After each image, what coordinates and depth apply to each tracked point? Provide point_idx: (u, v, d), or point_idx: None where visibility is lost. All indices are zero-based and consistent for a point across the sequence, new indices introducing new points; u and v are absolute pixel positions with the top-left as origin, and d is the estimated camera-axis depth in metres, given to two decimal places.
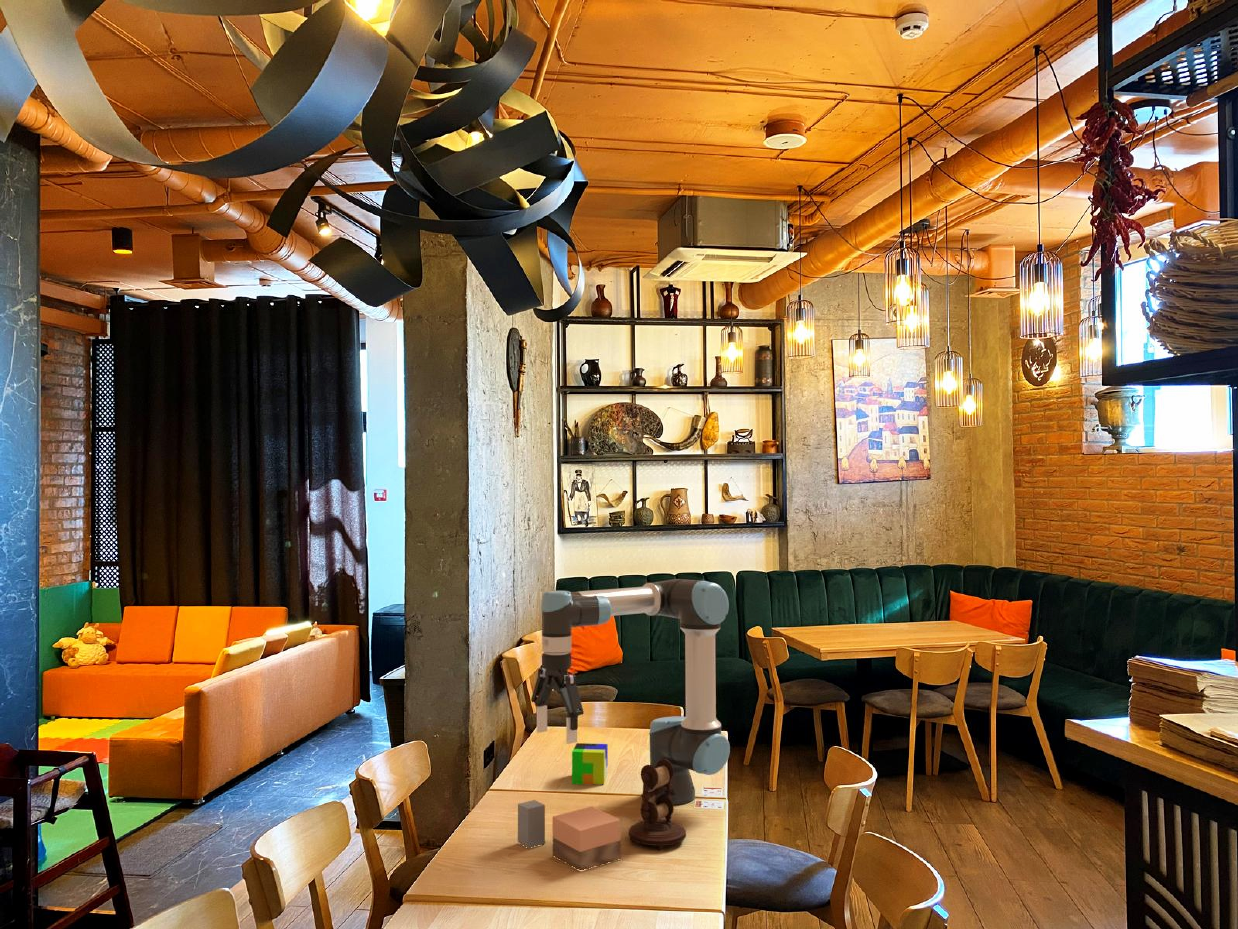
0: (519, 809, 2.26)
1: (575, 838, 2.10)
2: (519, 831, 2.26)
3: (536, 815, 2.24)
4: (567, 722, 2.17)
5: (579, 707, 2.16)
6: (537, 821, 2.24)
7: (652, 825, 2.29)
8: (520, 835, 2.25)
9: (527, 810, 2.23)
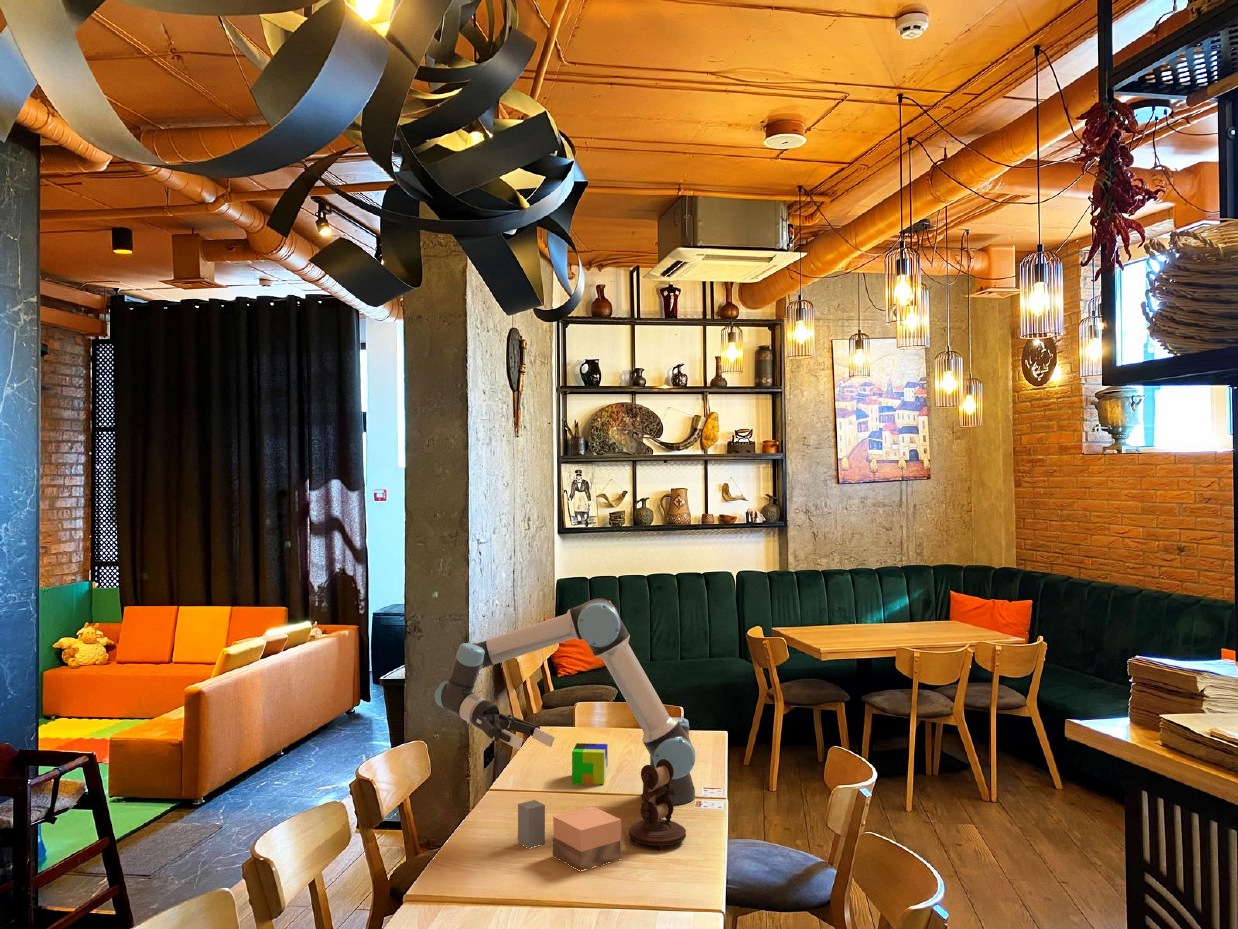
0: (519, 809, 2.26)
1: (576, 838, 2.10)
2: (519, 831, 2.26)
3: (536, 815, 2.24)
4: (504, 741, 2.29)
5: (488, 729, 2.29)
6: (537, 821, 2.24)
7: (652, 825, 2.29)
8: (520, 834, 2.25)
9: (527, 810, 2.23)
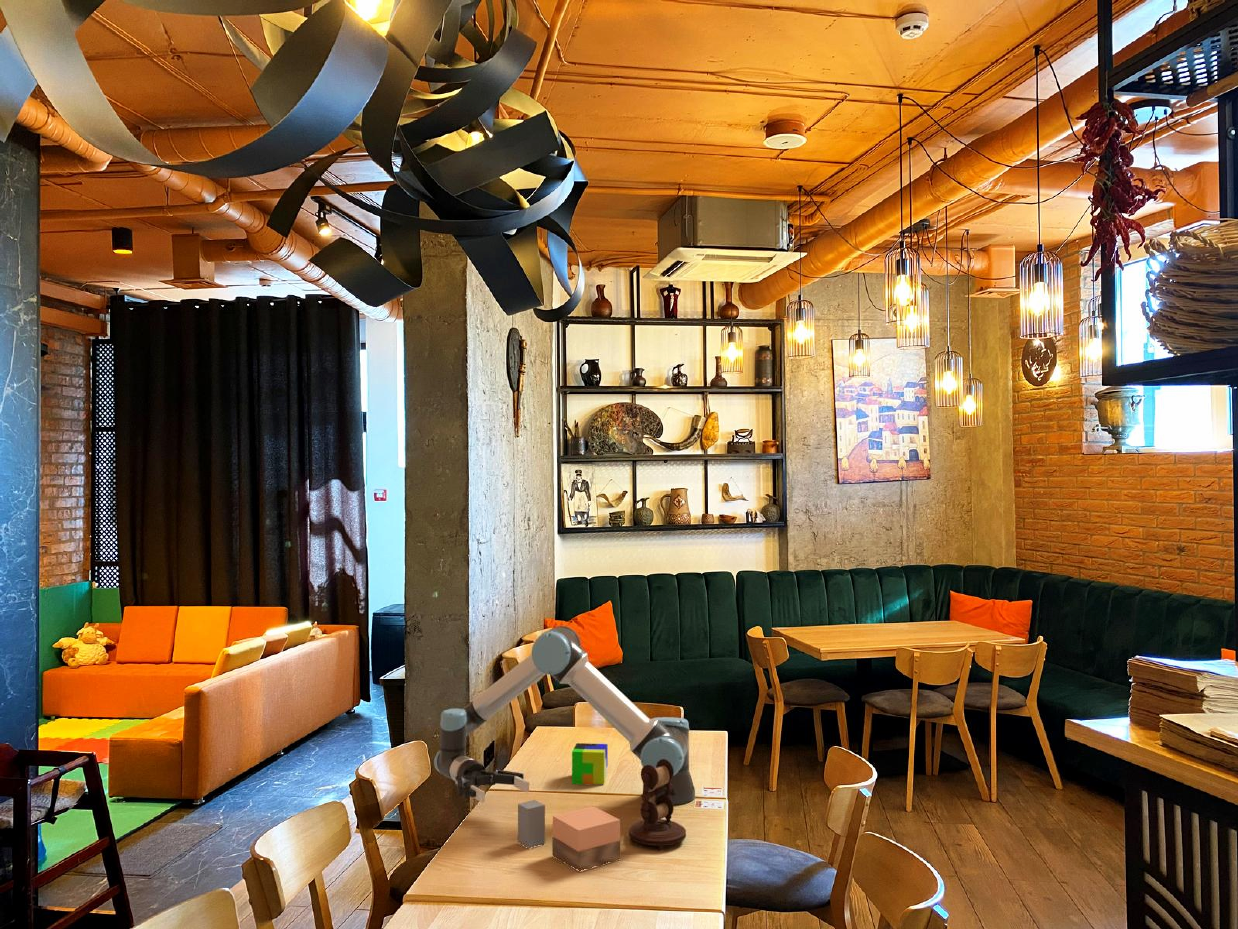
0: (519, 809, 2.26)
1: (574, 838, 2.10)
2: (519, 831, 2.26)
3: (536, 815, 2.24)
4: None
5: None
6: (537, 821, 2.24)
7: (652, 825, 2.29)
8: (520, 834, 2.25)
9: (527, 810, 2.23)
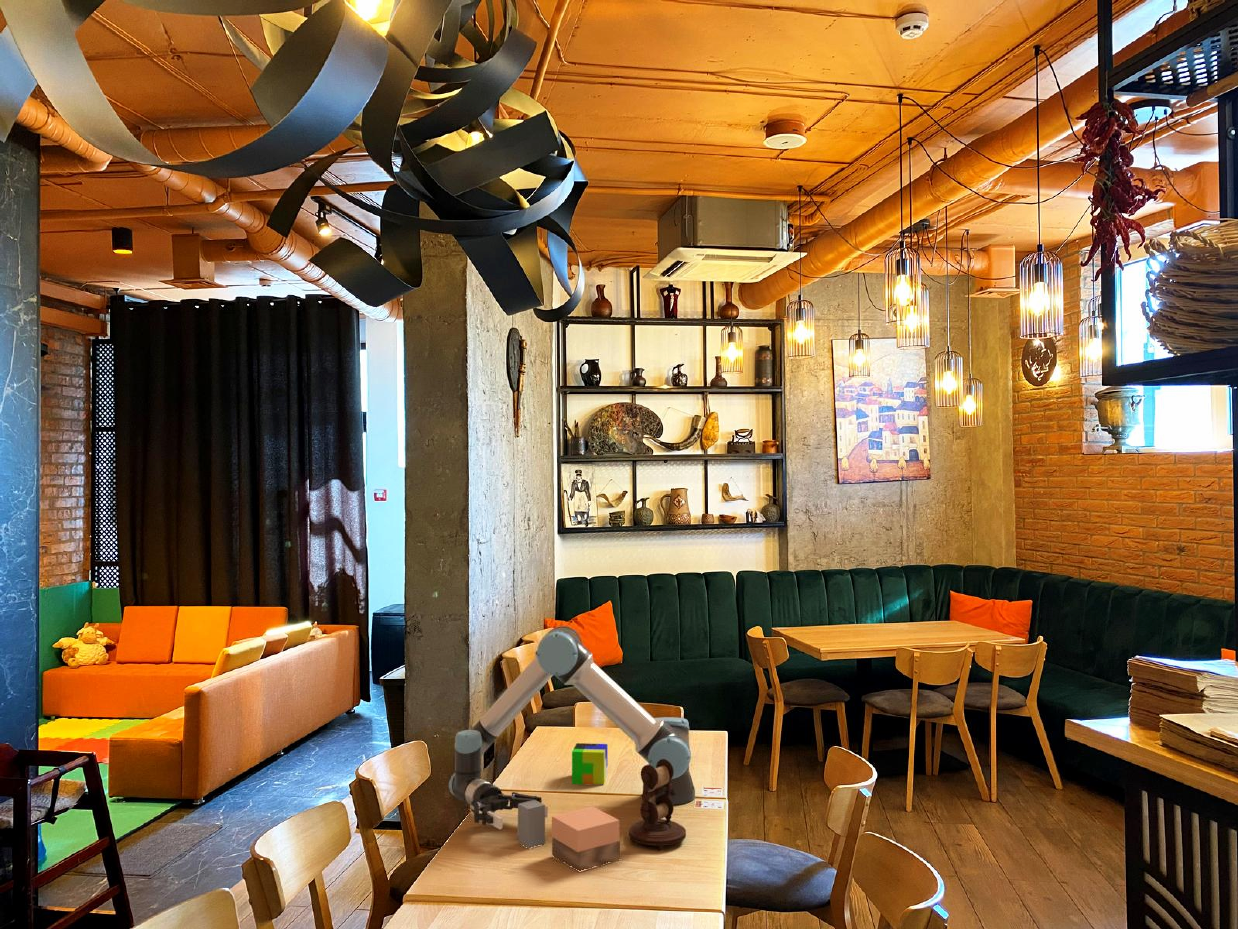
0: (519, 809, 2.26)
1: (573, 838, 2.10)
2: (519, 831, 2.26)
3: (536, 815, 2.24)
4: None
5: (474, 814, 2.29)
6: (537, 821, 2.24)
7: (652, 825, 2.29)
8: (520, 834, 2.25)
9: (527, 810, 2.23)
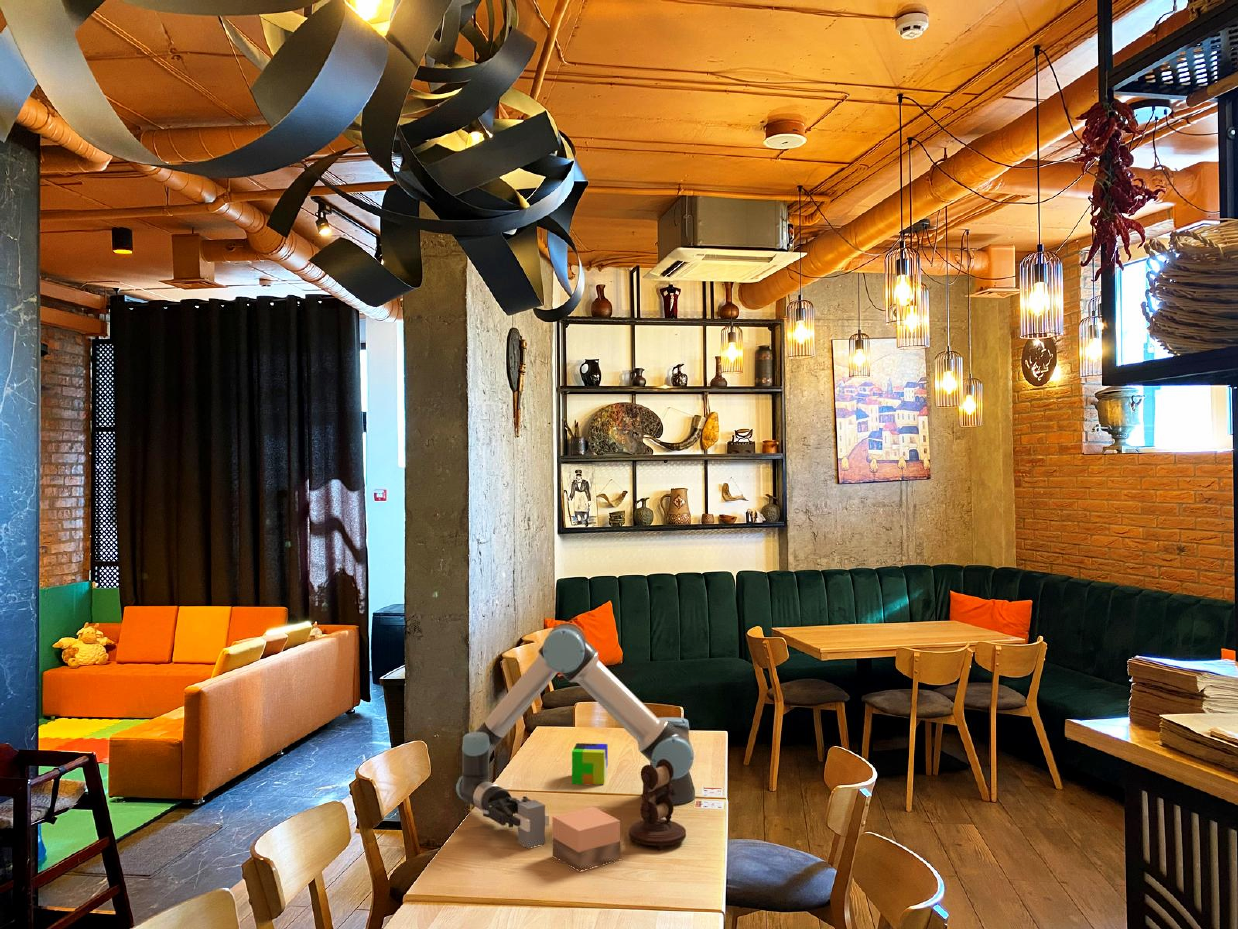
0: (519, 809, 2.26)
1: (574, 839, 2.10)
2: (519, 831, 2.26)
3: (536, 815, 2.24)
4: None
5: (499, 817, 2.27)
6: (537, 821, 2.24)
7: (652, 825, 2.29)
8: (520, 834, 2.25)
9: (527, 810, 2.23)
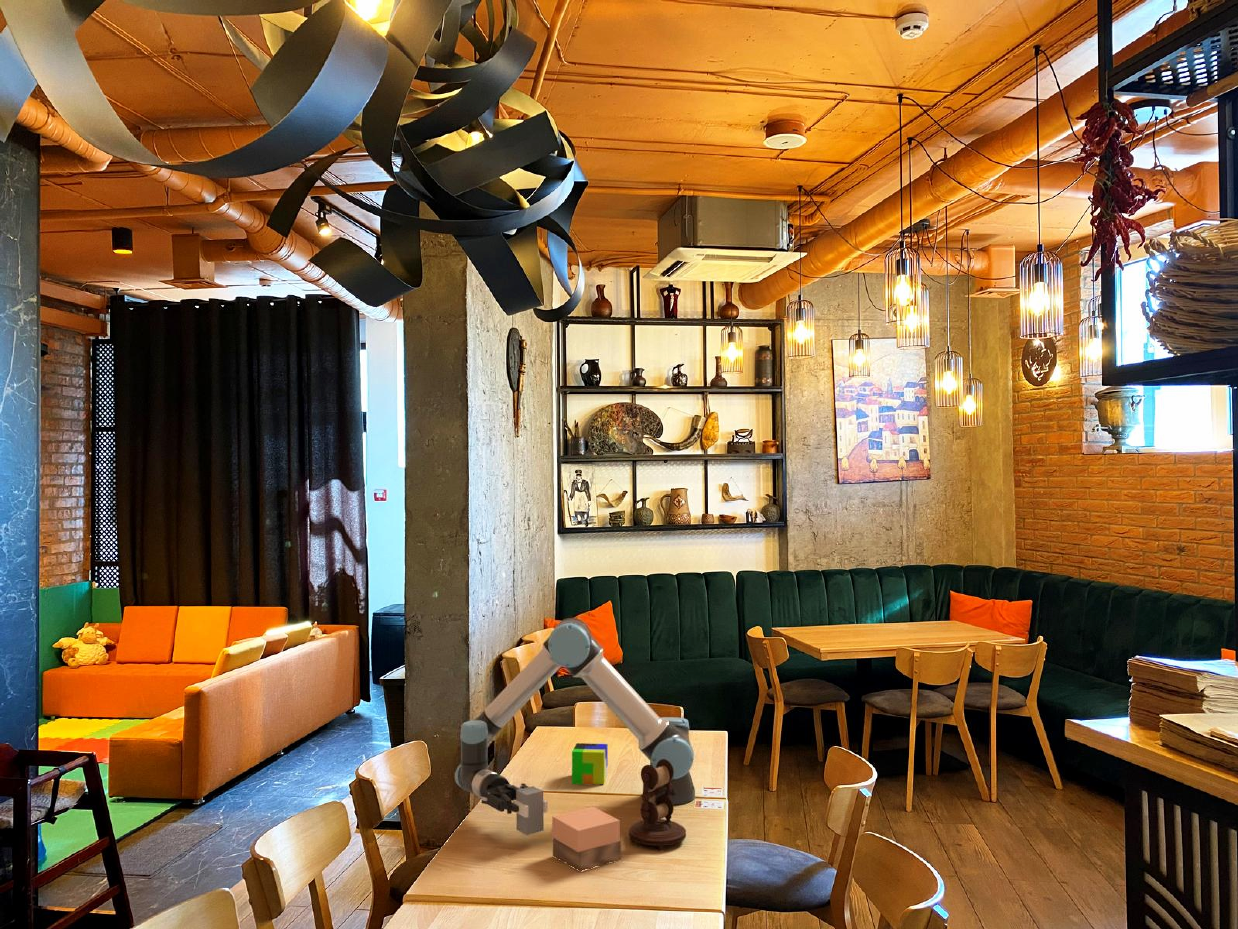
0: (517, 795, 2.26)
1: (573, 838, 2.10)
2: (518, 817, 2.26)
3: (534, 801, 2.24)
4: None
5: (497, 804, 2.27)
6: (535, 807, 2.24)
7: (652, 825, 2.29)
8: (518, 821, 2.25)
9: (525, 796, 2.23)
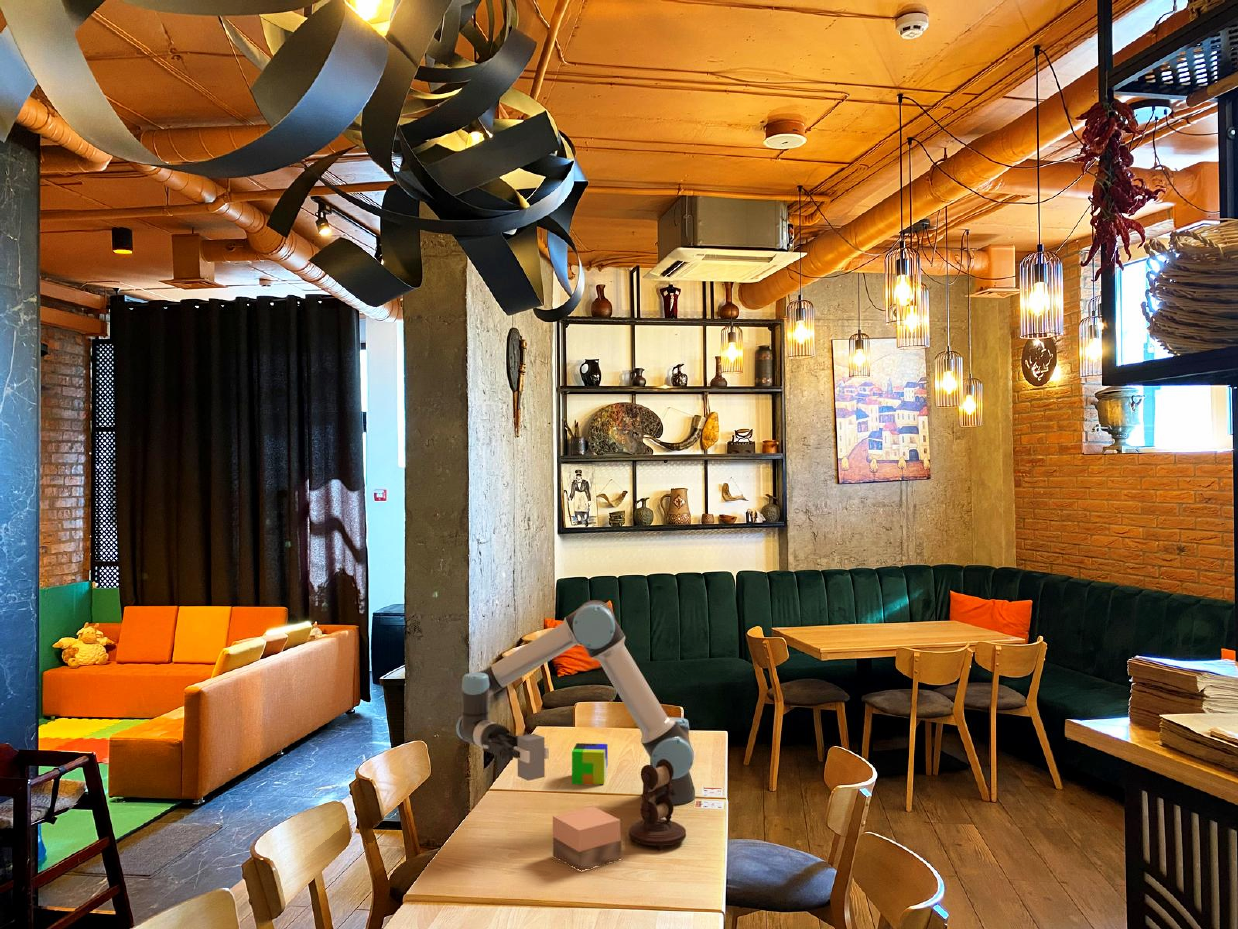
0: (519, 742, 2.27)
1: (574, 838, 2.10)
2: (519, 763, 2.26)
3: (535, 747, 2.25)
4: (517, 758, 2.26)
5: (499, 750, 2.27)
6: (536, 753, 2.25)
7: (652, 825, 2.29)
8: (520, 767, 2.26)
9: (527, 742, 2.24)
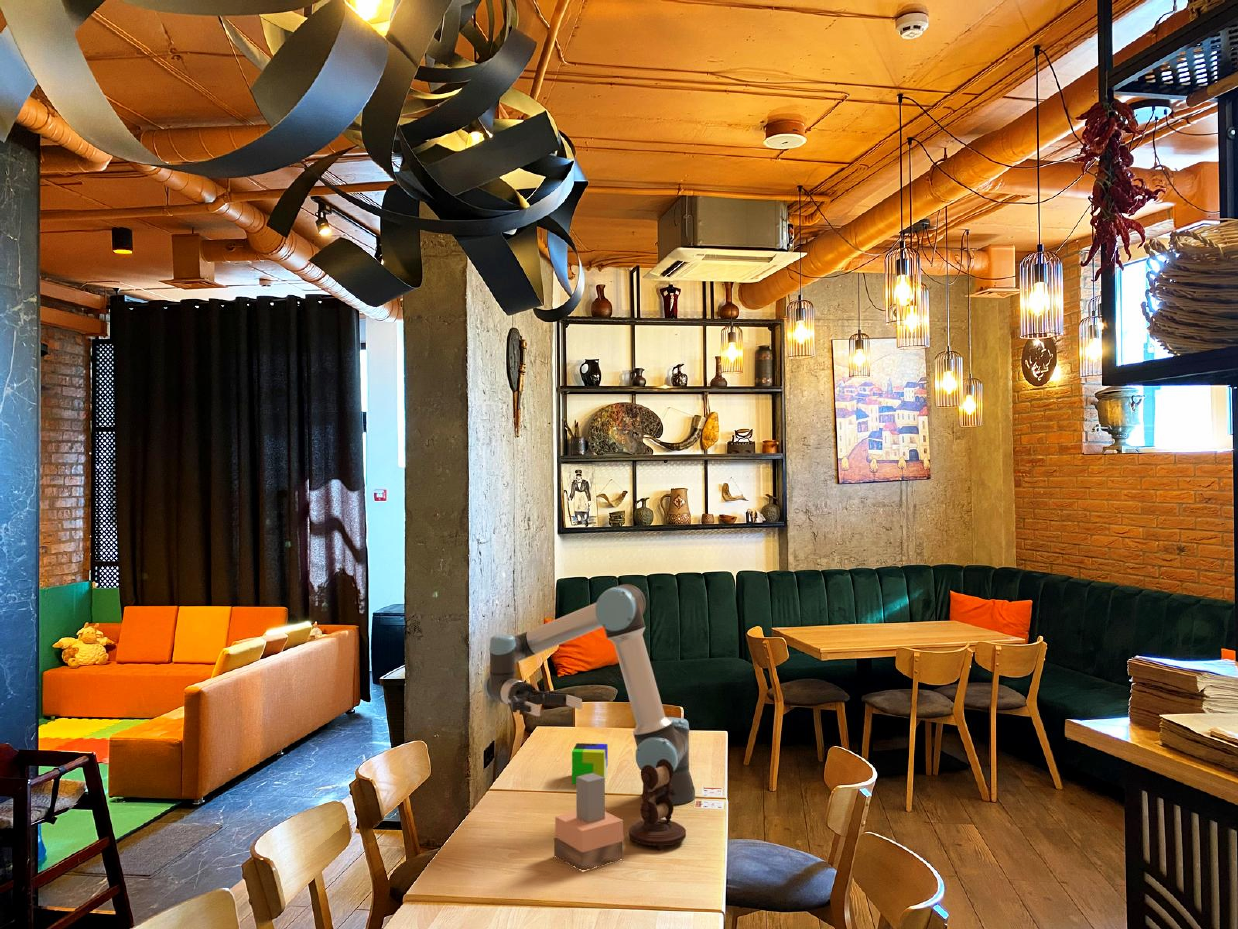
0: (578, 782, 2.17)
1: (577, 839, 2.10)
2: (578, 805, 2.17)
3: (596, 789, 2.15)
4: (528, 712, 2.38)
5: (512, 705, 2.40)
6: (597, 794, 2.15)
7: (652, 825, 2.29)
8: (579, 809, 2.16)
9: (587, 783, 2.14)
